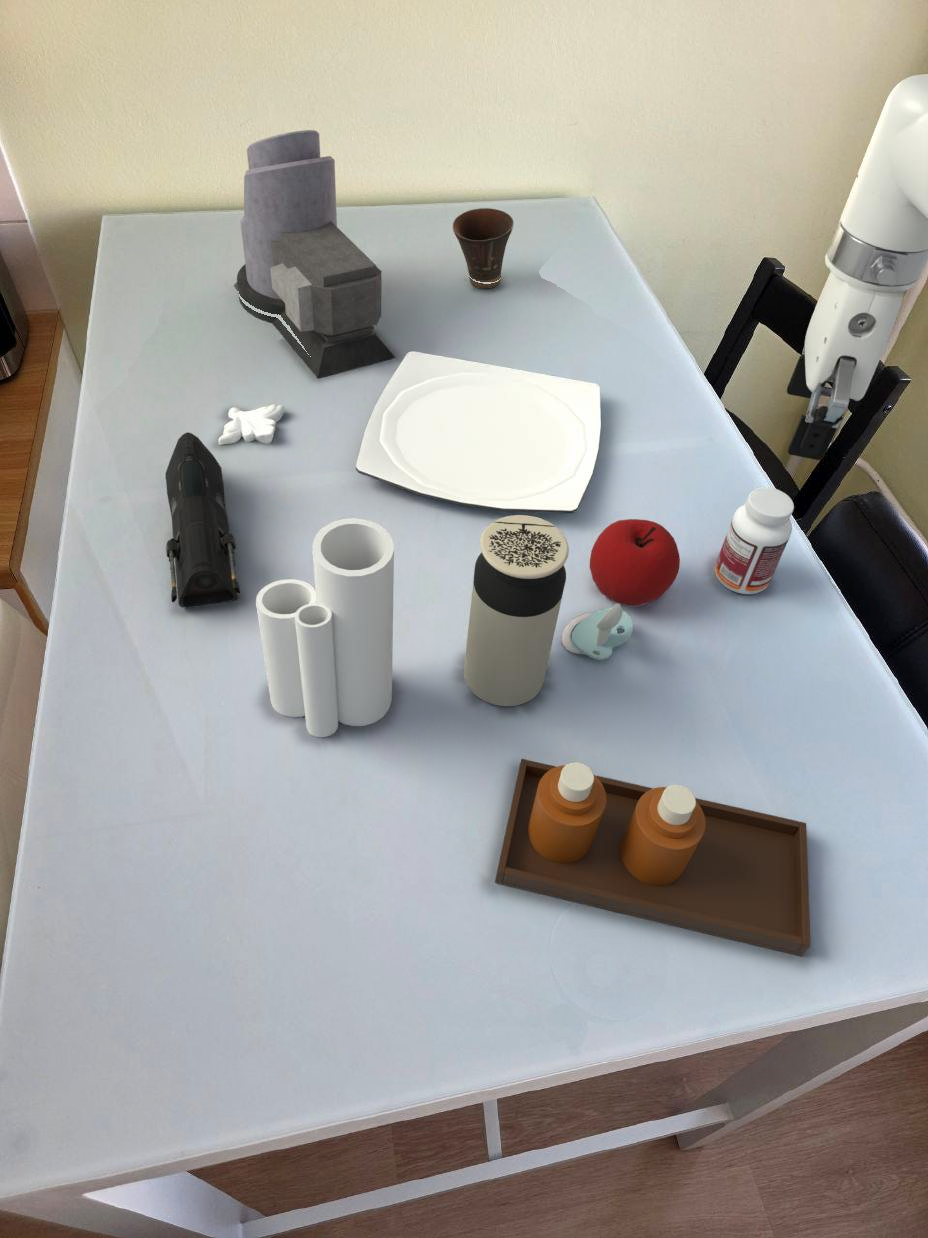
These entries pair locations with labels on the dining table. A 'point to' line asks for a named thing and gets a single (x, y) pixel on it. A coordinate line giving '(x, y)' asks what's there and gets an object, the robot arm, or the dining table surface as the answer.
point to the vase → (333, 631)
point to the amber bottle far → (566, 812)
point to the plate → (484, 435)
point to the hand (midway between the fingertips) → (803, 424)
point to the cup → (483, 243)
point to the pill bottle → (755, 541)
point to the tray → (707, 889)
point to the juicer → (306, 258)
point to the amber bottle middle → (662, 834)
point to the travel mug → (514, 608)
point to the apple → (634, 561)
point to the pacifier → (597, 632)
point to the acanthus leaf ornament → (252, 424)
